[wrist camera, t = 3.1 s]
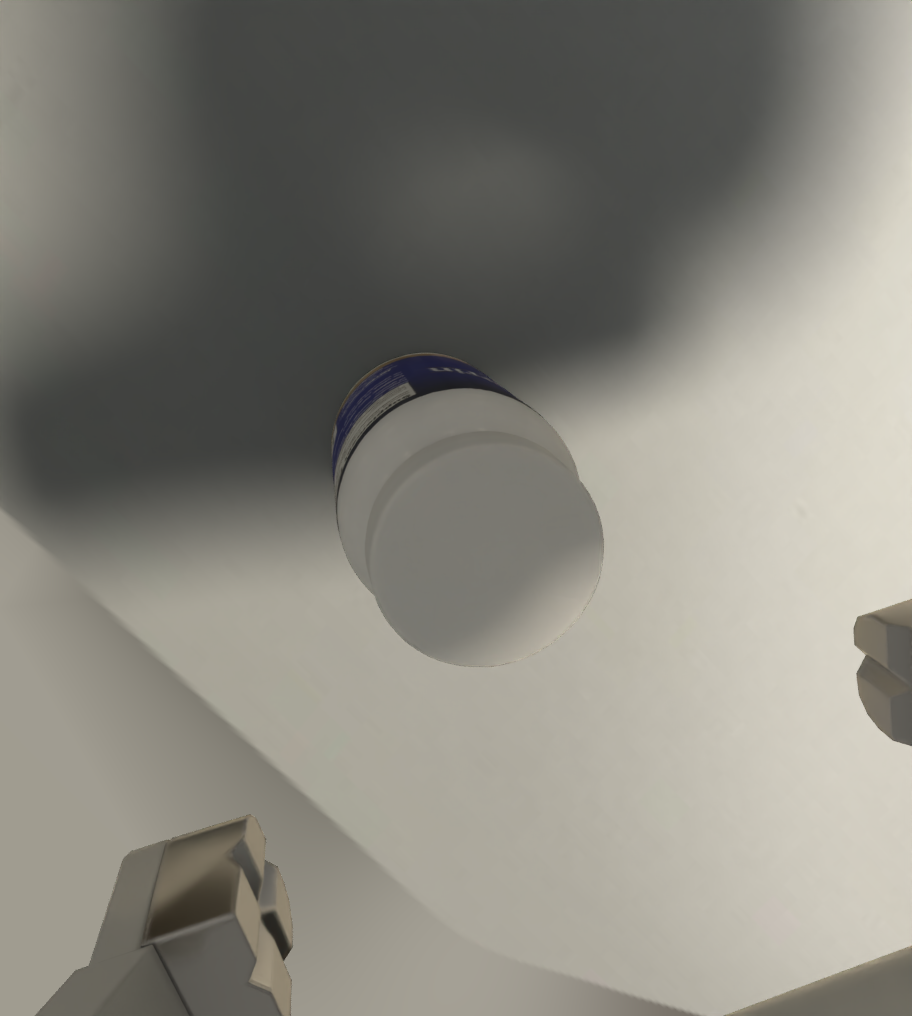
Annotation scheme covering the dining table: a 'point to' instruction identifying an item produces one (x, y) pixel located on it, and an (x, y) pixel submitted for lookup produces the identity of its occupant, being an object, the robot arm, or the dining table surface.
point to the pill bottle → (462, 512)
